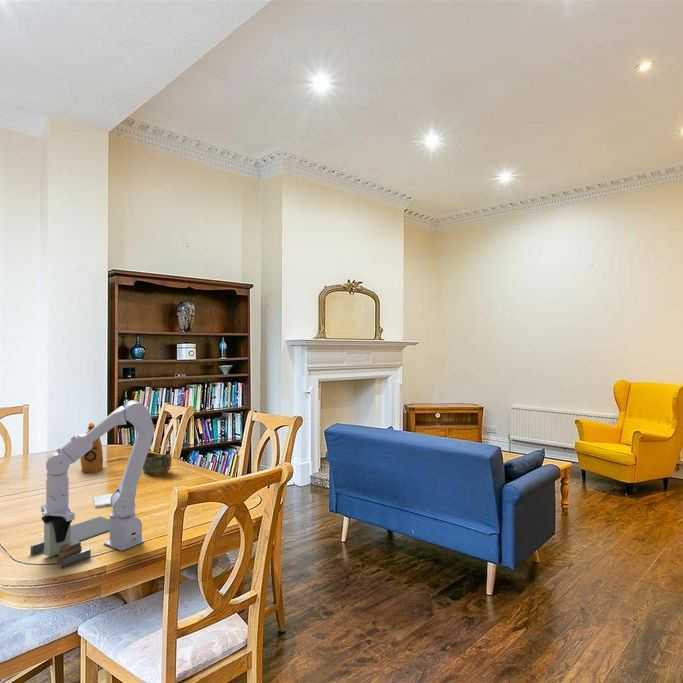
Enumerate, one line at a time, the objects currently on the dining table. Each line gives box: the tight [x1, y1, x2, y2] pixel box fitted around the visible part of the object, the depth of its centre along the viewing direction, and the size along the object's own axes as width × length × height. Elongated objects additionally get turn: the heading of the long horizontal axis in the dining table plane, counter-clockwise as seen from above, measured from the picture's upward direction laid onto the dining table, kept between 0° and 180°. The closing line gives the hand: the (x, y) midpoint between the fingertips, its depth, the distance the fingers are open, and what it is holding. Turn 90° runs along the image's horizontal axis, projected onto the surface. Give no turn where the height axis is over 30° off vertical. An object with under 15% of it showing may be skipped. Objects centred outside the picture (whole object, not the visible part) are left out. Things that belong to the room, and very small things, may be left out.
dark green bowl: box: [142, 451, 172, 477], centre depth 233 cm, size 13×20×10 cm, turn 25°
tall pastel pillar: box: [43, 522, 71, 558], centre depth 145 cm, size 3×6×9 cm, turn 148°
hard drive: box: [92, 493, 113, 509], centre depth 192 cm, size 2×8×12 cm
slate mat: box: [70, 516, 110, 543], centre depth 164 cm, size 14×18×1 cm
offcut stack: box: [56, 541, 83, 566], centre depth 141 cm, size 2×6×5 cm, turn 148°
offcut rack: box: [30, 540, 92, 570], centre depth 144 cm, size 17×8×2 cm, turn 58°
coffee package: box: [80, 422, 104, 474], centre depth 238 cm, size 10×12×22 cm
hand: (57, 540), depth 145 cm, fingers closed on tall pastel pillar, 3 cm apart
